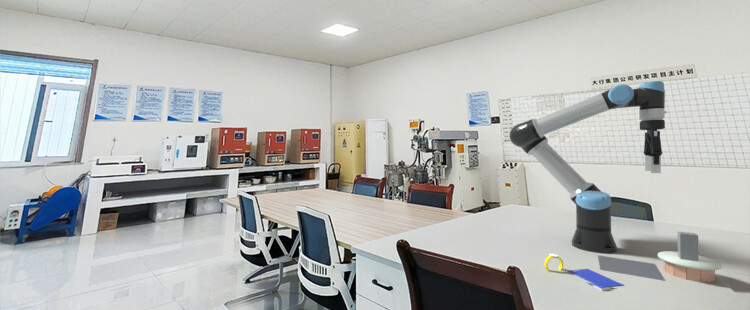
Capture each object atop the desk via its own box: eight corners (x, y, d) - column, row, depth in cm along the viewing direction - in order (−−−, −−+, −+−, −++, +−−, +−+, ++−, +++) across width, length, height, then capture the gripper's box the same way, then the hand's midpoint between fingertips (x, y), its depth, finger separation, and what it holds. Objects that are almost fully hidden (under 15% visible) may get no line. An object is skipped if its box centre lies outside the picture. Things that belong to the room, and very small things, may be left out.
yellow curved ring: (559, 270, 102) (560, 253, 102) (564, 274, 99) (565, 256, 99) (542, 270, 102) (543, 253, 102) (547, 273, 99) (548, 256, 99)
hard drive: (567, 270, 99) (601, 287, 87) (588, 268, 101) (624, 284, 88) (567, 275, 99) (601, 292, 87) (588, 273, 101) (625, 289, 88)
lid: (663, 264, 93) (663, 235, 93) (653, 251, 105) (653, 225, 104) (730, 273, 85) (729, 242, 85) (711, 258, 97) (711, 231, 97)
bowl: (668, 279, 93) (668, 263, 93) (660, 267, 102) (660, 253, 102) (720, 287, 87) (720, 270, 87) (707, 274, 96) (706, 259, 96)
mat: (600, 271, 100) (600, 269, 100) (597, 257, 113) (597, 255, 113) (665, 283, 91) (665, 280, 91) (654, 266, 104) (654, 263, 104)
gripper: (672, 116, 108) (673, 174, 108) (657, 121, 128) (658, 170, 129) (645, 118, 112) (645, 173, 112) (635, 122, 133) (635, 169, 133)
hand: (652, 171), depth 120 cm, fingers open, 13 cm apart
